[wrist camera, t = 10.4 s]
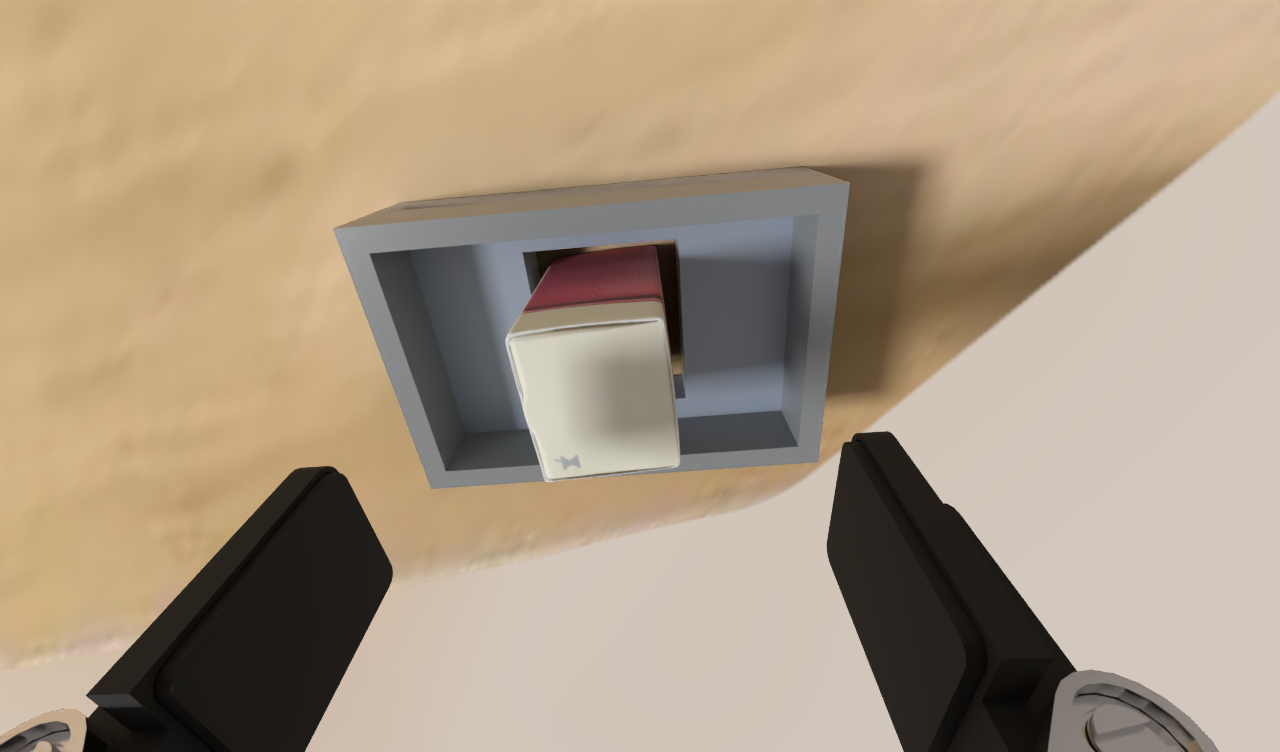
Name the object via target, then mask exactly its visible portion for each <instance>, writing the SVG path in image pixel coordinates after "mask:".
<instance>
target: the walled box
mask: <svg viewBox="0 0 1280 752" xmlns="http://www.w3.org/2000/svg"><path fill="white" fill-rule="evenodd" d="M849 188H850V182H847V181H844V180H841V179H839V178H836V177H833V176H830V175H827V174H824V173H821V172H818V171H815V170H812V169H809V168H806V167H803V166H802V167H791V168H780V169H769V170H758V171H747V172H736V173H725V174H714V175H703V176H692V177H681V178H670V179H659V180H648V181H637V182H626V183H615V184H604V185H593V186H582V187H571V188H560V189H549V190H538V191H527V192H516V193H505V194H494V195H483V196H472V197H461V198H450V199H439V200H428V201H417V202H406V203H398V204H395V205H393V206H390V207H388V208H385V209H383V210H380V211H377V212H375V213H372V214H370V215H367V216H365V217H362V218H359V219H357V220H354V221H352V222H349V223H347V224H344V225H341V226H339V227H336V228H334V229H333V230H334V233H335V235H336V238H337V240H338V243H339V246H340V248H341V251H342V254H343V256H344V259H345V262H346V264H347V267H348V270H349V272H350V275H351V277H352V280H353V283H354V285H355V288H356V291H357V293H358V296H359V299H360V301H361V304H362V307H363V309H364V312H365V314H366V317H367V320H368V322H369V325H370V328H371V330H372V333H373V336H374V338H375V341H376V344H377V346H378V349H379V351H380V354H381V357H382V359H383V362H384V365H385V367H386V370H387V373H388V375H389V378H390V381H391V383H392V386H393V388H394V391H395V394H396V396H397V399H398V402H399V404H400V407H401V410H402V412H403V415H404V418H405V420H406V423H407V426H408V428H409V431H410V433H411V436H412V439H413V441H414V444H415V447H416V449H417V452H418V455H419V457H420V460H421V463H422V465H423V468H424V470H425V473H426V476H427V478H428V481H429V484H430V486H431V489H437V488H452V487H466V486H480V485H495V484H509V483H524V482H538V481H545V480H544V477H543V473H542V469H541V466H540V463H539V460H538V456H537V453H536V450H535V447H534V444H533V440H532V437H531V434H530V430H529V427H528V424H527V421H526V418H525V415H524V411H523V407H522V403H521V398H520V395H519V392H518V389H517V385H516V382H515V378H514V374H513V370H512V367H511V362H510V359H509V355H508V351H507V348H506V343H505V340H506V337H507V335H508V333H509V331H510V329H511V328H512V326H513V324H514V323H515V322H516V320H517V318H518V317H519V315H520V314H521V312H522V310H523V309H524V307H525V305H526V304H527V302H528V301H529V299H530V297H531V295H532V294H533V292H534V291H535V289H536V287H537V286H538V284H539V282H540V281H541V279H540V273H539V268H538V263H537V257H536V252H535V251H545V250H557V249H568V248H580V247H592V246H603V245H615V244H626V243H638V242H649V241H661V240H673V239H675V246H676V266H677V286H678V307H679V327H680V347H681V368H682V375H675V376H673V379H674V388H675V398H676V407H677V416H678V427H679V440H680V456H681V463H680V465H679V466H678V467H675V468H667V469H660V470H652V471H644V472H637V473H631V474H621V475H611V476H625V475H640V474H654V473H668V472H683V471H697V470H712V469H726V468H741V467H755V466H770V465H784V464H799V463H813V462H818V459H819V450H820V441H821V432H822V424H823V415H824V406H825V398H826V389H827V380H828V371H829V363H830V354H831V345H832V337H833V328H834V319H835V310H836V302H837V293H838V284H839V276H840V267H841V258H842V249H843V241H844V232H845V223H846V214H847V206H848V197H849ZM611 476H604V477H611ZM593 478H596V477H593Z"/></svg>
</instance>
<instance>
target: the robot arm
mask: <svg viewBox="0 0 1280 752" xmlns="http://www.w3.org/2000/svg"><path fill="white" fill-rule="evenodd" d="M827 553H828V558H829V562H830V565H831V567H832V570H833V572H834V575H835V578H836V580H837V582H838V585H839V587H840V590H841V593H842V595H843V598H844V600H845V603H846V605H847V608H848V611H849V613H850V616H851V618H852V621H853V623H854V626H855V628H856V631H857V634H858V636H859V639H860V641H861V644H862V646H863V648H864V651H865V654H866V656H867V659H868V661H869V664H870V666H871V669H872V672H873V674H874V677H875V679H876V682H877V684H878V687H879V690H880V692H881V695H882V697H883V699H884V702H885V705H886V707H887V710H888V712H889V715H890V718H891V720H892V723H893V725H894V727H895V730H896V733H897V735H898V738H899V740H900V743H901V745H902V748H903V751H904V752H1219V751H1218V749H1217V748H1216V746H1215V745H1214V743H1213V742H1212V740H1211V739H1210V738H1209V737H1208V736H1207V735H1206V734H1205V733H1204V732H1203V731H1202V730H1201V729H1200V728H1199V727H1198V726H1197V724H1196V723H1195V722H1194V721H1193V720H1191V718H1190V717H1188V716H1187V715H1186V714H1185V713H1183V712H1182V711H1181V710H1180V709H1178V708H1177V707H1176V706H1174V705H1173V704H1172V703H1171V702H1169V701H1168V700H1167V699H1165V698H1164V697H1162V696H1160V695H1159V694H1157V693H1155V692H1153V691H1152V690H1150V689H1148V688H1146V687H1145V686H1143V685H1141V684H1139V683H1137V682H1135V681H1132V680H1129V679H1127V678H1124V677H1121V676H1119V675H1116V674H1114V673H1107V672H1102V671H1095V670H1086V671H1078V672H1077V671H1076V669H1075V668H1074V666H1073V665H1072V664H1071V662H1070V661H1069V660H1068V658H1067V657H1066V656H1065V655H1064V653H1063V652H1062V650H1061V649H1060V648H1059V646H1058V645H1057V644H1056V642H1055V641H1054V640H1053V638H1052V637H1051V636H1050V634H1049V633H1048V632H1047V630H1046V629H1045V628H1044V626H1043V625H1042V624H1041V622H1040V621H1039V620H1038V618H1037V617H1036V616H1035V614H1034V613H1033V611H1032V610H1031V609H1030V608H1029V606H1028V605H1027V603H1026V602H1025V601H1024V599H1023V598H1022V597H1021V595H1020V594H1019V593H1018V591H1017V590H1016V589H1015V587H1014V586H1013V585H1012V583H1011V582H1010V581H1009V579H1008V578H1007V577H1006V575H1005V574H1004V573H1003V571H1002V570H1001V568H1000V567H999V566H998V564H997V563H996V562H995V560H994V559H993V558H992V556H991V555H990V554H989V552H988V551H987V550H986V548H985V547H984V546H983V544H982V543H981V542H980V540H979V539H978V538H977V536H976V535H975V534H974V532H973V531H972V530H971V528H970V527H969V526H968V524H967V523H966V522H965V520H964V519H963V517H962V516H961V515H960V514H959V513H958V512H957V511H956V510H955V508H954V507H952V506H950V505H948V504H943V503H942V501H941V500H940V499H939V497H938V496H937V495H936V493H935V492H934V490H933V489H932V487H931V486H930V485H929V483H928V482H927V481H926V479H925V478H924V477H923V475H922V474H921V472H920V471H919V470H918V468H917V467H916V465H915V464H914V463H913V461H912V460H911V458H910V457H909V456H908V455H907V453H906V452H905V450H904V449H903V447H902V446H901V445H900V443H899V442H898V441H897V439H896V438H895V436H894V435H893V434H892V433H890V432H888V431H887V432H872V433H871V432H870V433H857V434H855V435H854V436H853V438H852V441H851V442H845V443H844V444H843V447H842V451H841V458H840V464H839V471H838V477H837V483H836V489H835V496H834V502H833V508H832V514H831V521H830V527H829V533H828V539H827ZM392 576H393V570H392V565H391V563H390V561H389V559H388V557H387V555H386V553H385V551H384V549H383V548H382V546H381V544H380V542H379V540H378V538H377V536H376V534H375V532H374V530H373V528H372V526H371V524H370V522H369V520H368V518H367V517H366V515H365V513H364V511H363V509H362V507H361V505H360V503H359V501H358V499H357V497H356V495H355V493H354V491H353V489H352V487H351V486H350V484H349V482H348V480H347V478H346V477H345V475H343V474H341V473H339V472H338V471H337V470H336V469H335V468H333V467H330V466H323V467H307V468H299V469H296V470H294V471H293V472H292V473H290V475H289V476H288V477H287V478H286V479H285V480H284V481H283V482H282V483H281V484H280V485H279V486H278V488H277V489H276V490H275V491H274V492H273V493H272V494H271V495H270V496H269V497H268V498H267V499H266V501H265V502H264V503H263V504H262V505H261V506H260V507H259V508H258V509H257V510H256V511H255V512H254V514H253V515H252V516H251V517H250V518H249V519H248V520H247V521H246V522H245V523H244V524H243V525H242V527H241V528H240V529H239V530H238V531H237V532H236V533H235V534H234V535H233V536H232V537H231V539H230V540H229V541H228V542H227V543H226V544H225V545H224V546H223V547H222V548H221V549H220V550H219V552H218V553H217V554H216V555H215V556H214V557H213V558H212V559H211V560H210V561H209V562H208V563H207V565H206V566H205V567H204V568H203V569H202V570H201V571H200V572H199V573H198V574H197V575H196V576H195V578H194V579H193V580H192V581H191V582H190V583H189V584H188V585H187V586H186V587H185V588H184V589H183V591H182V592H181V593H180V594H179V595H178V596H177V597H176V598H175V599H174V600H173V601H172V603H171V604H170V605H169V606H168V607H167V608H166V609H165V610H164V611H163V612H162V613H161V614H160V616H159V617H158V618H157V619H156V620H155V621H154V622H153V623H152V624H151V625H150V626H149V627H148V629H147V630H146V631H145V632H144V633H143V634H142V635H141V636H140V637H139V638H138V639H137V640H136V642H135V643H134V644H133V645H132V646H131V647H130V648H129V649H128V650H127V651H126V652H125V653H124V655H123V656H122V657H121V658H120V659H119V660H118V661H117V662H116V663H115V664H114V665H113V667H112V668H111V669H110V670H109V671H108V672H107V673H106V674H105V675H104V676H103V677H102V679H101V680H100V681H99V682H98V683H97V684H96V685H95V686H94V687H93V688H92V689H91V690H90V691H89V693H88V694H87V695H86V696H87V697H88V698H89V699H91V700H92V701H93V702H95V703H96V704H97V705H98V707H97V709H96V710H95V711H94V712H93V713H92V714H91V715H90V717H89V718H87V717H86V716H85V715H84V714H82V713H81V712H80V711H78V710H74V709H60V710H56V711H52V712H49V713H44V714H42V715H40V716H38V717H35V718H33V719H31V720H29V721H26V722H24V723H22V724H20V725H19V726H17V727H15V728H14V729H12V730H10V731H8V732H7V733H5V734H4V735H2V736H0V752H305V750H306V748H307V746H308V744H309V742H310V740H311V738H312V736H313V734H314V732H315V730H316V729H317V726H318V725H319V722H320V721H321V719H322V717H323V715H324V713H325V711H326V709H327V707H328V705H329V703H330V701H331V699H332V697H333V695H334V693H335V691H336V689H337V688H338V686H339V684H340V682H341V680H342V678H343V676H344V674H345V672H346V670H347V668H348V666H349V664H350V662H351V660H352V658H353V656H354V654H355V652H356V651H357V649H358V647H359V645H360V643H361V641H362V639H363V637H364V635H365V633H366V631H367V629H368V627H369V625H370V623H371V621H372V619H373V617H374V615H375V614H376V612H377V610H378V607H379V606H380V604H381V602H382V600H383V598H384V596H385V594H386V592H387V590H388V588H389V586H390V584H391V581H392Z"/></svg>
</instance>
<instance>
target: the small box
mask: <svg viewBox="0 0 1280 752" xmlns="http://www.w3.org/2000/svg"><path fill="white" fill-rule="evenodd" d="M505 343H506V348H507V351H508V355H509V359H510V362H511V367H512V370H513V374H514V378H515V382H516V385H517V389H518V392H519V395H520V398H521V403H522V407H523V411H524V415H525V418H526V421H527V424H528V427H529V430H530V434H531V437H532V440H533V444H534V447H535V450H536V453H537V456H538V460H539V463H540V466H541V469H542V473H543V477H544V480H545V481H547V482H554V481H562V480H572V479H584V478H593V477H604V476H611V475H621V474H631V473H637V472H644V471H652V470H660V469H667V468H675V467H678V466H679V465H680V463H681V456H680V440H679V427H678V416H677V407H676V398H675V388H674V379H673V370H672V362H671V354H670V345H669V337H668V330H667V321H666V313H665V305H664V298H663V291H662V284H661V277H660V270H659V264H658V257H657V251H656V248H655V247H654V246H640V247H632V248H622V249H613V250H605V251H597V252H590V253H583V254H577V255H571V256H564V257H557V258H555V259H554V260H553V261H552V262H551V264H550V266H549V267H548V269H547V271H546V272H545V274H544V276H543V277H542V279H541V281H540V282H539V284H538V286H537V287H536V289H535V291H534V292H533V294H532V295H531V297H530V299H529V301H528V302H527V304H526V305H525V307H524V309H523V310H522V312H521V314H520V315H519V317H518V318H517V320H516V322H515V323H514V324H513V326H512V328H511V329H510V331H509V333H508V335H507V337H506V340H505Z"/></svg>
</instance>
